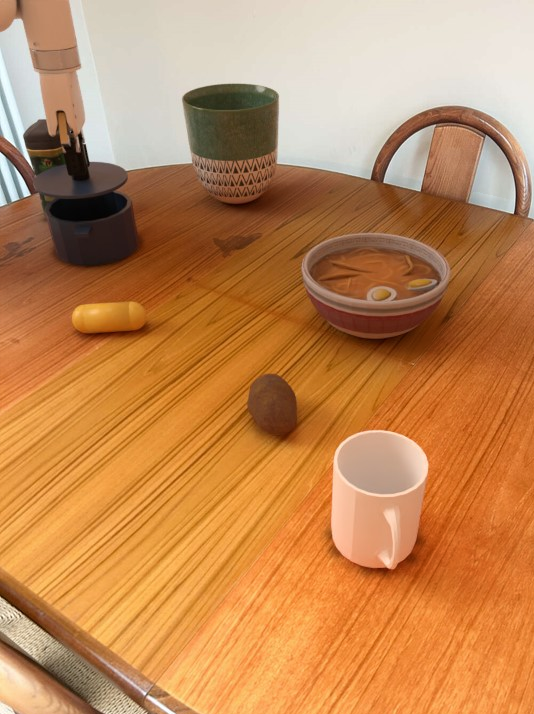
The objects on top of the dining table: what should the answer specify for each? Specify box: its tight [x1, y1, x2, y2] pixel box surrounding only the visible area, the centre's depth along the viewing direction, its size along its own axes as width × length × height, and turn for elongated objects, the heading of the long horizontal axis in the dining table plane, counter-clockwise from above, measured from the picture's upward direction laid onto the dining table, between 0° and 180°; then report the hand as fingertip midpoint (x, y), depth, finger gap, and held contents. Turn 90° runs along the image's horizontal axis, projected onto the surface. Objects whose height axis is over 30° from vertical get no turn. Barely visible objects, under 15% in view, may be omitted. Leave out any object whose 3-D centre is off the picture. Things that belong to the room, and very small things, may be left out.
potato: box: [246, 373, 298, 436], centre depth 86 cm, size 7×10×6 cm
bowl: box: [301, 232, 452, 340], centre depth 104 cm, size 23×23×10 cm
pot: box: [44, 190, 139, 267], centre depth 125 cm, size 16×21×8 cm
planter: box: [181, 83, 280, 205], centre depth 139 cm, size 20×20×21 cm
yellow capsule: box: [71, 301, 148, 334], centre depth 104 cm, size 12×5×5 cm, turn 96°
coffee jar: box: [22, 118, 66, 218], centre depth 134 cm, size 10×8×19 cm
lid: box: [32, 138, 129, 199], centre depth 117 cm, size 17×17×8 cm
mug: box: [330, 429, 429, 570], centre depth 68 cm, size 10×12×12 cm
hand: (79, 169), depth 118 cm, fingers closed on lid, 3 cm apart
